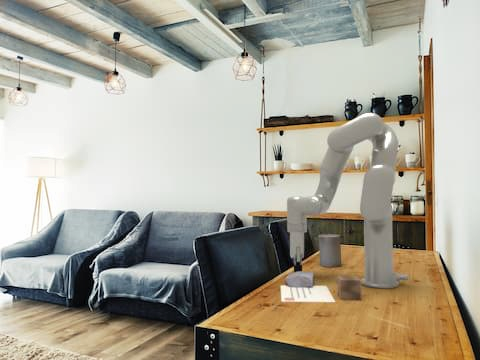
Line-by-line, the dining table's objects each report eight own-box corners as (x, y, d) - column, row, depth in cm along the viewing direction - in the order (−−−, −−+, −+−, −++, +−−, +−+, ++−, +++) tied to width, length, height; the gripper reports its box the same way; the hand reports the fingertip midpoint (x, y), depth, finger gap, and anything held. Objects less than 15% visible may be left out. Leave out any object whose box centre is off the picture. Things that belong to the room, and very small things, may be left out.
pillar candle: (339, 263, 173) (338, 231, 174) (343, 267, 164) (341, 233, 164) (318, 263, 174) (317, 231, 175) (320, 267, 165) (319, 233, 165)
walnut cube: (356, 295, 119) (356, 276, 119) (360, 300, 113) (360, 280, 113) (337, 294, 120) (337, 275, 120) (340, 300, 114) (340, 280, 114)
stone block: (286, 291, 130) (315, 287, 128) (283, 278, 130) (312, 273, 128) (289, 285, 141) (315, 280, 139) (286, 272, 142) (312, 268, 140)
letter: (326, 286, 131) (326, 285, 131) (335, 302, 111) (335, 301, 111) (280, 286, 132) (280, 285, 132) (281, 302, 112) (281, 301, 112)
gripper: (286, 226, 153) (287, 271, 153) (288, 230, 139) (289, 279, 138) (305, 226, 153) (306, 271, 152) (308, 229, 138) (309, 279, 137)
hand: (298, 275), depth 145 cm, fingers closed
